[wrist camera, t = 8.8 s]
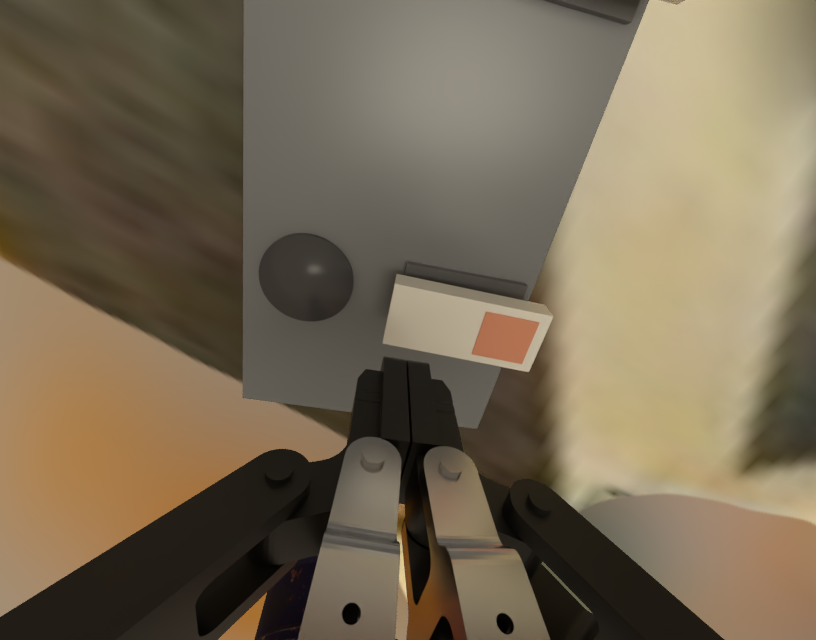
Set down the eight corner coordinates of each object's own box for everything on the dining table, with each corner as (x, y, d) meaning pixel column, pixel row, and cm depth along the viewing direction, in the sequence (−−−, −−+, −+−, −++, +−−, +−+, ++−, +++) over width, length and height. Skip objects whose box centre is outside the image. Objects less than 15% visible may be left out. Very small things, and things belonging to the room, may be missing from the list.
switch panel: (709, -297, 13) (850, -483, 9) (465, 387, 26) (478, 433, 22) (293, -479, 11) (238, -817, 7) (264, 358, 24) (240, 402, 21)
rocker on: (544, 304, 17) (553, 317, 16) (522, 358, 18) (529, 373, 17) (396, 273, 16) (395, 284, 15) (384, 330, 18) (382, 344, 17)
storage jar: (262, 503, 31) (168, 778, 18) (369, 475, 30) (352, 746, 17) (312, 564, 36) (266, 819, 23) (407, 542, 35) (417, 797, 22)
